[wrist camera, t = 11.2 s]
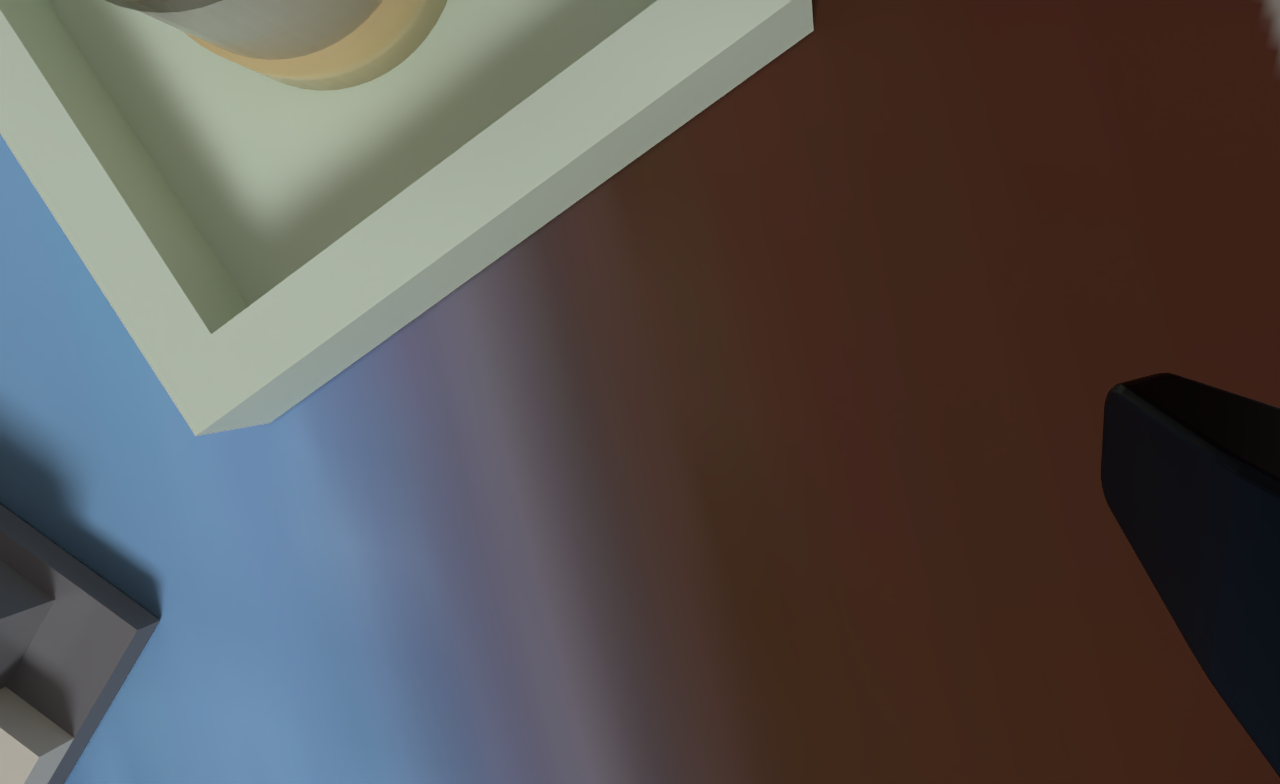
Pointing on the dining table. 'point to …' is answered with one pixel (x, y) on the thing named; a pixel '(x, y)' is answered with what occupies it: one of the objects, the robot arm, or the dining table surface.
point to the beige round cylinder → (303, 35)
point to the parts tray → (339, 168)
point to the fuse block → (57, 653)
